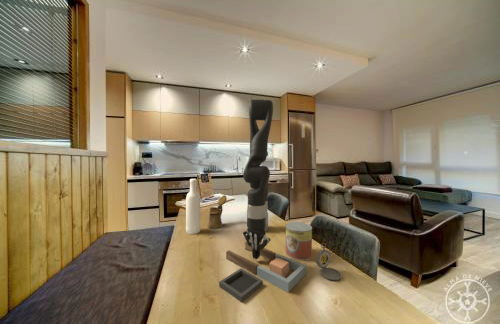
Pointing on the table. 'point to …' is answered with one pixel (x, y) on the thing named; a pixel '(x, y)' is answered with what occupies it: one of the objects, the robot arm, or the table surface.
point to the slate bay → (281, 281)
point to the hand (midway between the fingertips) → (255, 257)
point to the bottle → (193, 209)
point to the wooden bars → (247, 263)
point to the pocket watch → (327, 272)
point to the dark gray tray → (241, 284)
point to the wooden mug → (216, 214)
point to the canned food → (298, 240)
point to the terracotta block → (279, 267)
